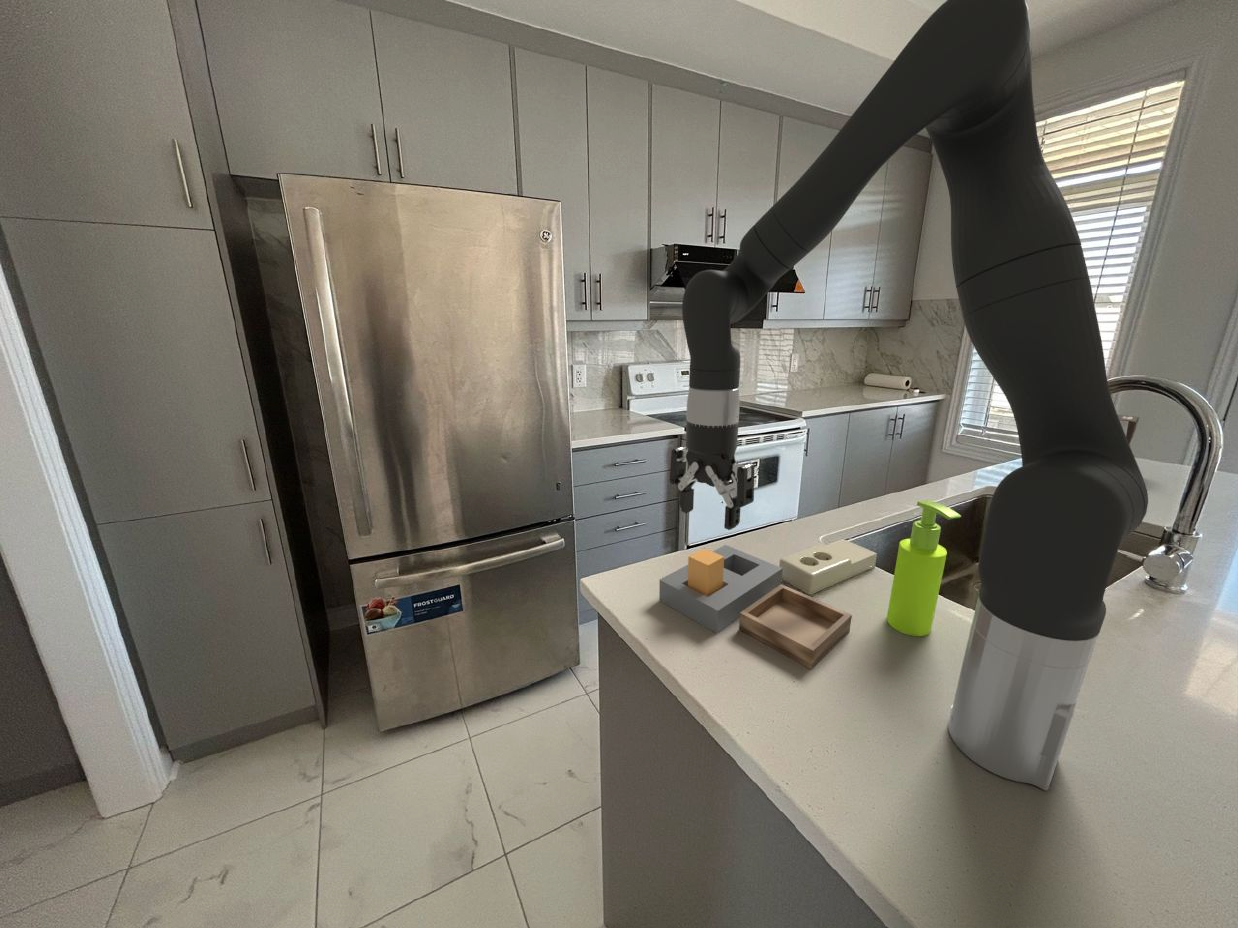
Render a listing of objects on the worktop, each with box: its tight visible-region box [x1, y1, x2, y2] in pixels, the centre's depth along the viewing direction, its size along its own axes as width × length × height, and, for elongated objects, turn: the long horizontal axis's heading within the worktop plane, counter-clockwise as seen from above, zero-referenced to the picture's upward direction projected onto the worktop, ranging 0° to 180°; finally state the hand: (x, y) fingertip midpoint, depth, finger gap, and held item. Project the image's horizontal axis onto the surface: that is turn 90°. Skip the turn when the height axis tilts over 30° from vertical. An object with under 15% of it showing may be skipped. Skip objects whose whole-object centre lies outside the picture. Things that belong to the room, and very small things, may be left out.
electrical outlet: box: [778, 538, 878, 596], centre depth 88 cm, size 7×4×18 cm
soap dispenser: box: [886, 499, 962, 637], centre depth 70 cm, size 6×7×20 cm
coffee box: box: [1117, 414, 1140, 447], centre depth 135 cm, size 9×6×16 cm
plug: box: [687, 547, 724, 597], centre depth 78 cm, size 4×4×9 cm
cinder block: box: [658, 544, 783, 634], centre depth 81 cm, size 12×18×4 cm, turn 131°
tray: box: [738, 583, 853, 670], centre depth 72 cm, size 12×12×3 cm
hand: (707, 519), depth 75 cm, fingers open, 8 cm apart
